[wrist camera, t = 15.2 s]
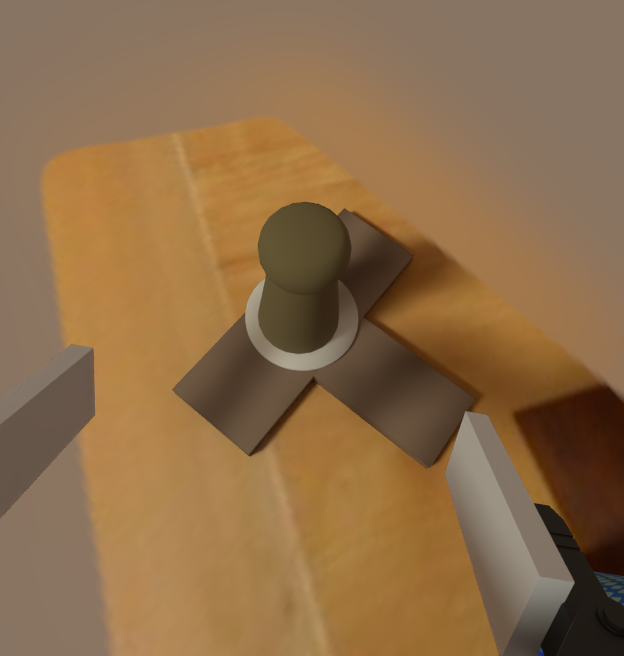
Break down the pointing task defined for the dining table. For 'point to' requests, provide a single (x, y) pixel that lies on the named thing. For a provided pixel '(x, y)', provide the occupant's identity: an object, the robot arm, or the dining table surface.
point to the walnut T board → (331, 366)
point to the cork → (302, 276)
